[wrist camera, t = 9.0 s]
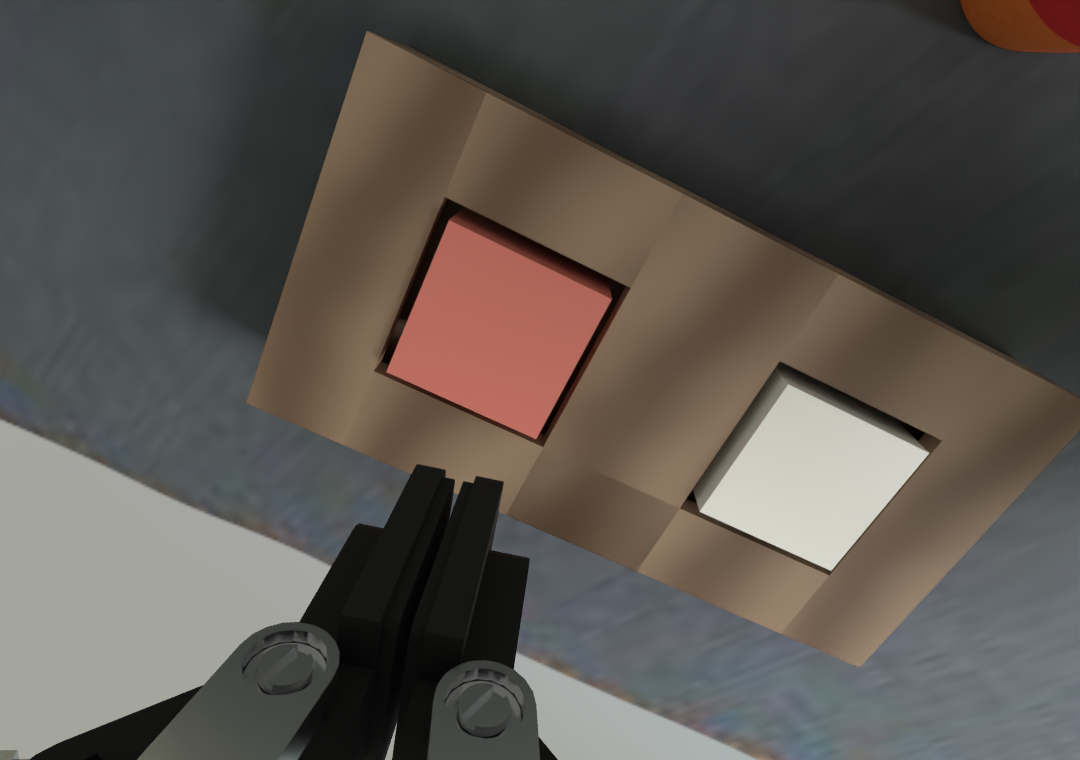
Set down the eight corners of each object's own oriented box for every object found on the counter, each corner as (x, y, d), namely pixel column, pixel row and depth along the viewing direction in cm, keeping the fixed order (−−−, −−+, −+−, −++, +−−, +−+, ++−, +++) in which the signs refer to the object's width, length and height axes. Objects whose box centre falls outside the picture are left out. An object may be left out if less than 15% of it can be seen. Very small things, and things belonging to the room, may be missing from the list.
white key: (892, 416, 26) (929, 453, 24) (806, 526, 29) (831, 571, 26) (765, 354, 26) (788, 384, 23) (687, 471, 28) (699, 511, 25)
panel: (1013, 358, 28) (1099, 408, 23) (820, 589, 33) (859, 667, 28) (406, 45, 24) (366, 30, 20) (298, 357, 30) (246, 403, 25)
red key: (608, 277, 25) (612, 299, 22) (540, 405, 27) (535, 439, 24) (463, 207, 24) (449, 220, 21) (406, 344, 26) (386, 371, 23)
